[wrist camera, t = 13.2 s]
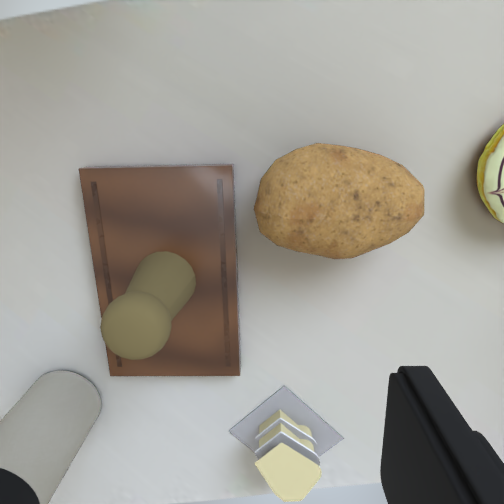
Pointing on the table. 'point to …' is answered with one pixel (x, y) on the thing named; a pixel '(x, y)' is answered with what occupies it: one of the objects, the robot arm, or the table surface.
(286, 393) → the stacked layers on plate
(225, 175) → the cutting board
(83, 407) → the travel mug
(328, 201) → the potato
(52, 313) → the table surface
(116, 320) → the olive tapered rounded piece
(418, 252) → the table surface
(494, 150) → the decorated donut
